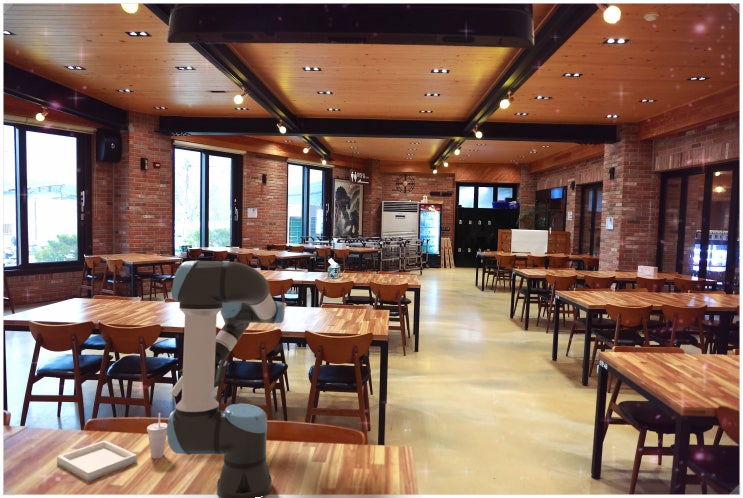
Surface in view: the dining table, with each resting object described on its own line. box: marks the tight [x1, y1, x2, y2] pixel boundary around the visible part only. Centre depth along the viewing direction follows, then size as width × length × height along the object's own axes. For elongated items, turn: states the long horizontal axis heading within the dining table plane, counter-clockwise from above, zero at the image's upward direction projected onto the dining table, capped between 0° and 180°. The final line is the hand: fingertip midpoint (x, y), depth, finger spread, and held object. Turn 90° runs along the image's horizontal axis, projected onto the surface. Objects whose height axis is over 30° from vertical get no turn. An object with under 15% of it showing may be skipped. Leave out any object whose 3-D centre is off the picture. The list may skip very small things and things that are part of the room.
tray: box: [56, 440, 138, 482], centre depth 159 cm, size 18×15×2 cm
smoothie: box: [146, 412, 168, 459], centre depth 165 cm, size 6×6×14 cm
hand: (185, 398), depth 173 cm, fingers open, 13 cm apart
